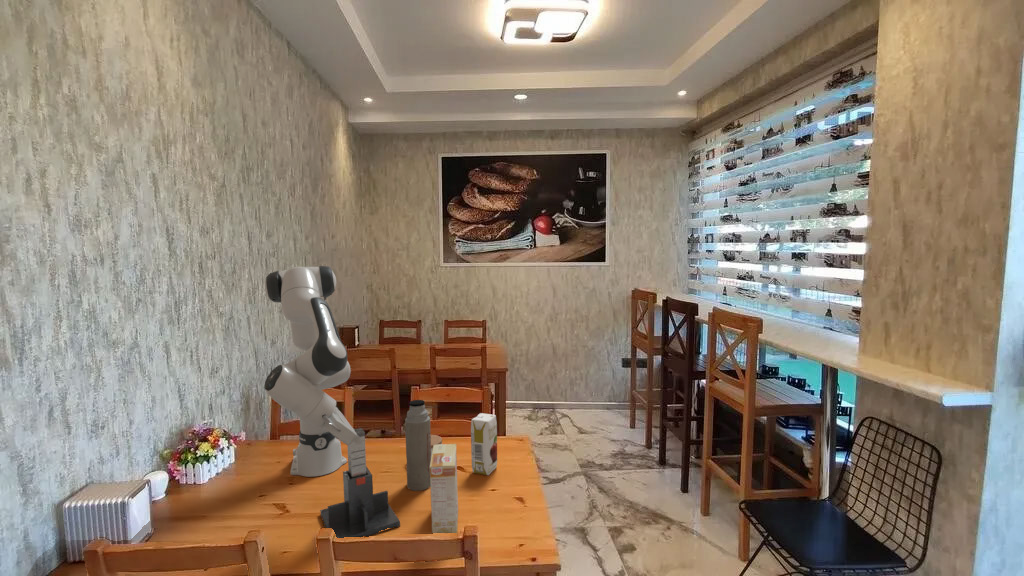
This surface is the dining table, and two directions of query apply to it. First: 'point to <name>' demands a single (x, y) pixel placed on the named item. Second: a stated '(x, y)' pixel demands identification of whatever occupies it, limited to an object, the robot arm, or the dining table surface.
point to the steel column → (357, 456)
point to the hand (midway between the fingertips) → (358, 438)
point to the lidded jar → (435, 441)
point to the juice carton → (484, 443)
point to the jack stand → (360, 509)
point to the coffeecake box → (444, 488)
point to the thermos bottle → (418, 446)
